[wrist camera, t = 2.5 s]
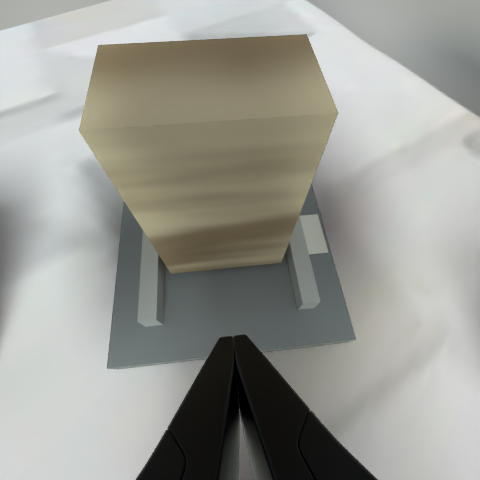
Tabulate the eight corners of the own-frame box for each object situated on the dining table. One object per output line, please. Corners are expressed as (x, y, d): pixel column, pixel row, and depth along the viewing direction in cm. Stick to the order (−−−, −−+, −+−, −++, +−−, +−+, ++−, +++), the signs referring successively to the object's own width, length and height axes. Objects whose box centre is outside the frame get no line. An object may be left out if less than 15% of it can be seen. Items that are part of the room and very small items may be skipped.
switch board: (346, 342, 17) (367, 335, 14) (117, 369, 16) (93, 367, 13) (283, 107, 27) (288, 77, 24) (139, 116, 26) (128, 87, 23)
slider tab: (281, 262, 17) (337, 113, 8) (170, 273, 17) (79, 130, 7) (271, 210, 19) (306, 34, 9) (171, 219, 19) (98, 45, 9)
